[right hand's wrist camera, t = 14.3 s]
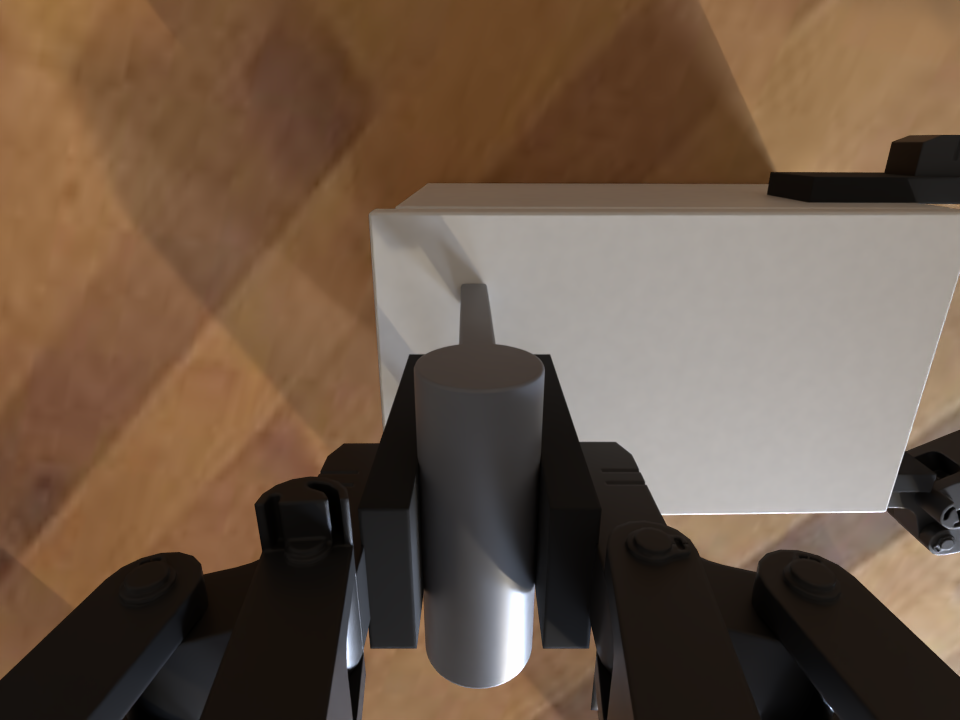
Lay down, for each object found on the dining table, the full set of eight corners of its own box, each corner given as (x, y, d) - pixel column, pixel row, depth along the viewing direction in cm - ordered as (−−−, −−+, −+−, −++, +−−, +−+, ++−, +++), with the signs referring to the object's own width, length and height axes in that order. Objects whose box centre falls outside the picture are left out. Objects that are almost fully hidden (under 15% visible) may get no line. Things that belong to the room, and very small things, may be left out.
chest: (433, 382, 28) (409, 494, 19) (427, 182, 25) (394, 206, 16) (746, 383, 28) (868, 497, 19) (783, 184, 24) (953, 208, 16)
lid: (391, 503, 19) (340, 756, 11) (372, 208, 15) (278, 274, 8) (869, 498, 19) (1142, 738, 11) (954, 208, 16) (1428, 271, 8)
